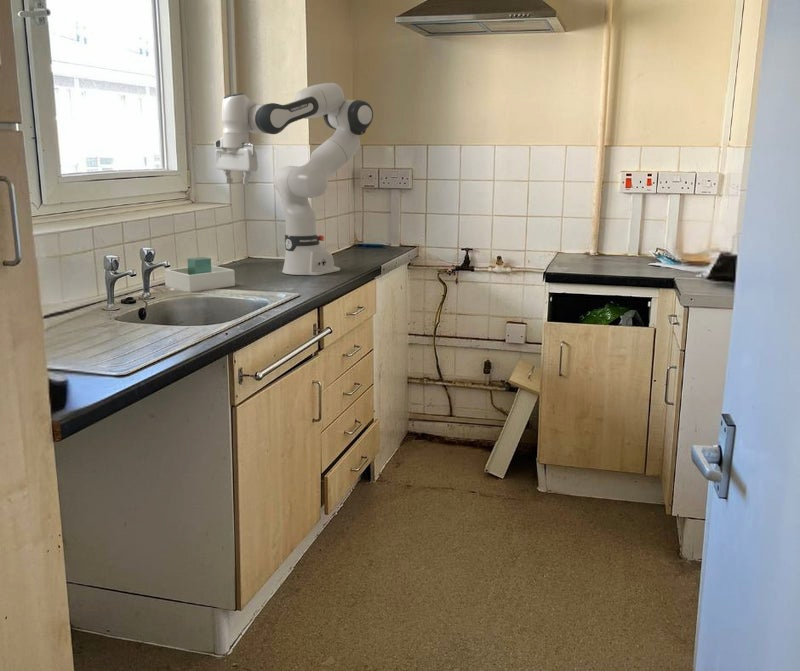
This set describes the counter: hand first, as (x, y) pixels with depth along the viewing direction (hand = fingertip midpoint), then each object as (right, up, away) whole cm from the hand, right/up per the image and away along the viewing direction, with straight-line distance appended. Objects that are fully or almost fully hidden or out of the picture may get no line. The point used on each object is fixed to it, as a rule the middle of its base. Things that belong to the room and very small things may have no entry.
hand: (237, 184), depth 273 cm
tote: (-10, -36, -10) cm, 39 cm away
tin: (-10, -34, -11) cm, 37 cm away
